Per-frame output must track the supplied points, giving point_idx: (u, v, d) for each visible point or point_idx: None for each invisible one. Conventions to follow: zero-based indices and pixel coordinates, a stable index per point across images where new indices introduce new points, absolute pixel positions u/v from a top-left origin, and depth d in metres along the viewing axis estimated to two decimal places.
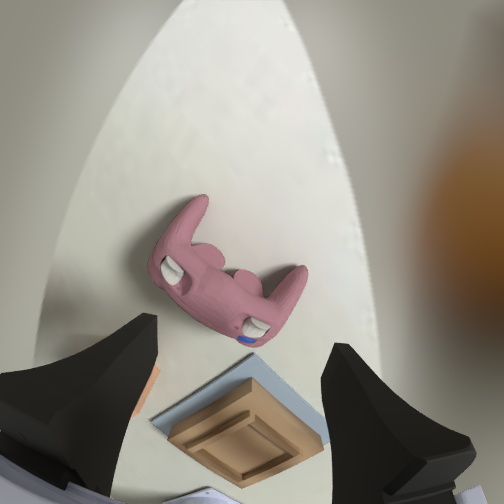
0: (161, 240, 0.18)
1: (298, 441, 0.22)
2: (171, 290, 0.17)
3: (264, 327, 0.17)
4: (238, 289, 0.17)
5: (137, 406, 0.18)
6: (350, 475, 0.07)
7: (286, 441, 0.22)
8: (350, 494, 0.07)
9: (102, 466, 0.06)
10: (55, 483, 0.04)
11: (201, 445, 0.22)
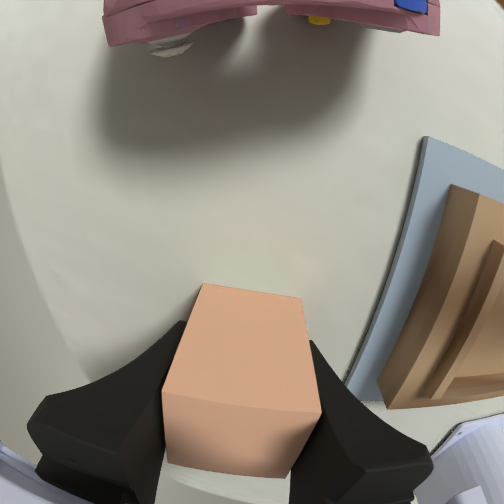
0: None
1: None
2: None
3: None
4: None
5: (307, 397, 0.07)
6: (302, 476, 0.07)
7: None
8: (301, 496, 0.06)
9: (150, 481, 0.06)
10: None
11: (451, 373, 0.10)
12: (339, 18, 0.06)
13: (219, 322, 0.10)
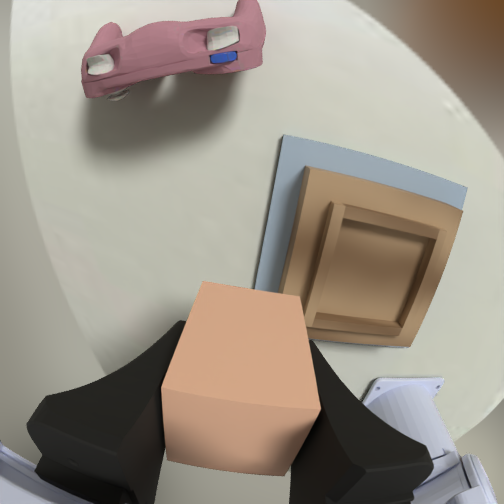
0: None
1: (425, 214, 0.15)
2: (107, 77, 0.11)
3: (227, 26, 0.10)
4: (171, 21, 0.10)
5: (306, 394, 0.07)
6: (303, 476, 0.07)
7: (410, 220, 0.15)
8: (302, 497, 0.06)
9: (150, 481, 0.06)
10: None
11: (313, 303, 0.17)
12: (194, 72, 0.12)
13: (219, 320, 0.10)
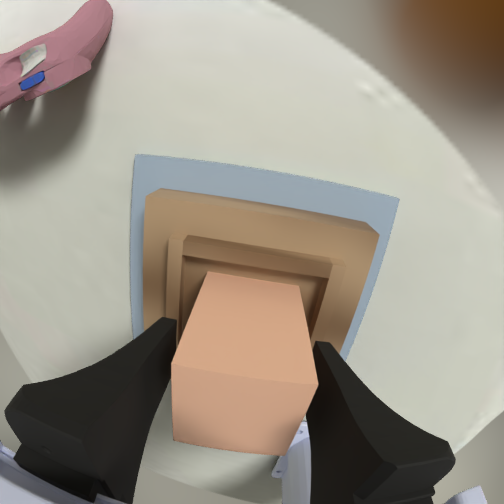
0: None
1: (314, 243, 0.13)
2: None
3: (33, 47, 0.07)
4: (1, 54, 0.07)
5: (304, 371, 0.08)
6: (326, 476, 0.07)
7: (286, 253, 0.12)
8: (325, 496, 0.06)
9: (127, 474, 0.06)
10: (84, 496, 0.04)
11: None
12: None
13: (223, 305, 0.11)
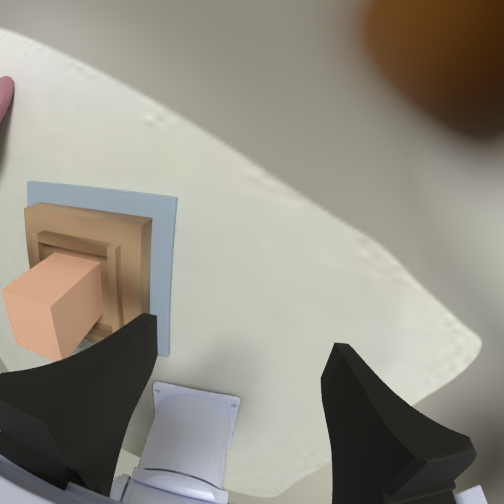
0: None
1: (102, 233, 0.18)
2: None
3: None
4: None
5: (50, 301, 0.13)
6: (350, 475, 0.07)
7: (85, 240, 0.17)
8: (350, 494, 0.07)
9: (102, 466, 0.06)
10: (55, 483, 0.04)
11: None
12: None
13: (44, 269, 0.16)
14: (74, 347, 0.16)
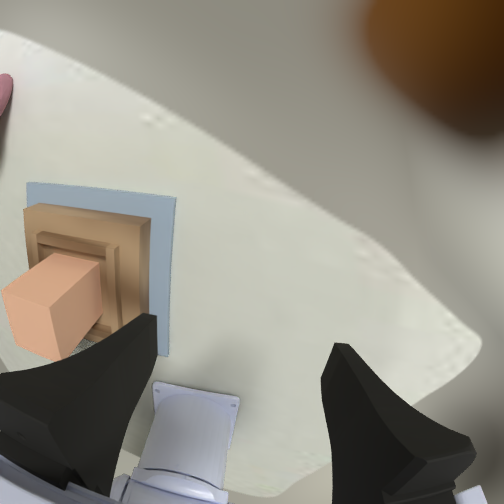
0: None
1: (100, 233, 0.18)
2: None
3: None
4: None
5: (49, 301, 0.13)
6: (350, 475, 0.07)
7: (84, 240, 0.17)
8: (350, 494, 0.07)
9: (102, 466, 0.06)
10: (55, 483, 0.04)
11: None
12: None
13: (44, 269, 0.16)
14: (73, 347, 0.16)
